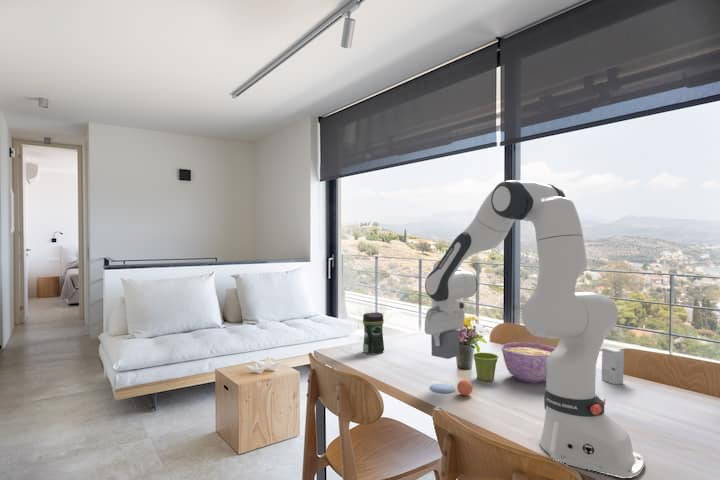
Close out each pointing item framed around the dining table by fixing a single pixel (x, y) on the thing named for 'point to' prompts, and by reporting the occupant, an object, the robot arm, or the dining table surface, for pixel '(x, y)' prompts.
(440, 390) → the circle
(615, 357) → the skincare box
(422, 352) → the dining table surface
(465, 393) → the ball
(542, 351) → the bowl of food
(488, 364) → the plant pot
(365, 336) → the coffee jar
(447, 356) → the grey upright box
